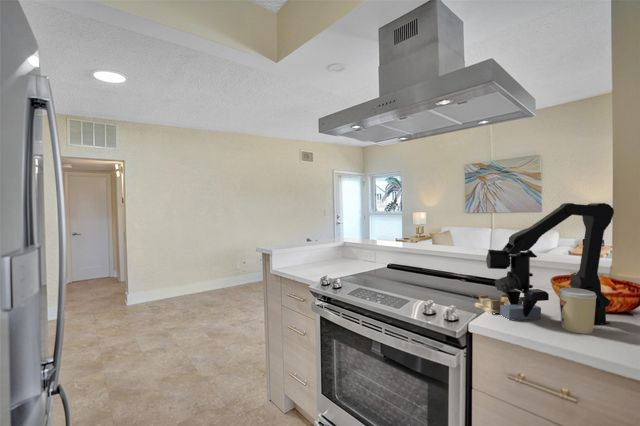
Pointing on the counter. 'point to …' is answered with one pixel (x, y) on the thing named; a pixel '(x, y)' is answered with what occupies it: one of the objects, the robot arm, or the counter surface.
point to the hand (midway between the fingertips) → (519, 313)
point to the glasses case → (519, 312)
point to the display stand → (493, 303)
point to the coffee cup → (577, 309)
